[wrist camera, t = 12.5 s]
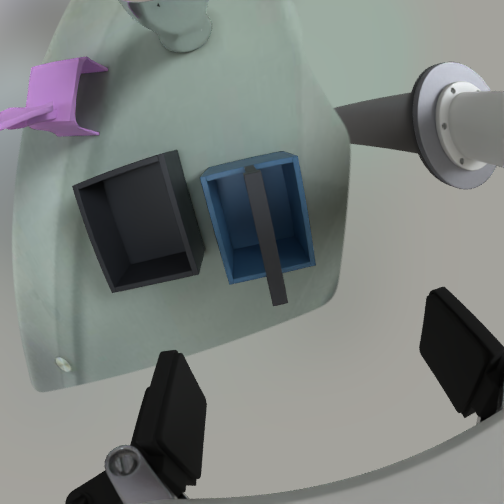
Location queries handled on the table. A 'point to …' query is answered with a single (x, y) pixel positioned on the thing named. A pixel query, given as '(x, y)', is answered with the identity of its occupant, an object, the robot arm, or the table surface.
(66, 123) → the toy chair
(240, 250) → the blue bin
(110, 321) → the table surface
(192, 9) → the beer glass
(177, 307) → the table surface
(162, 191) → the charcoal bin
